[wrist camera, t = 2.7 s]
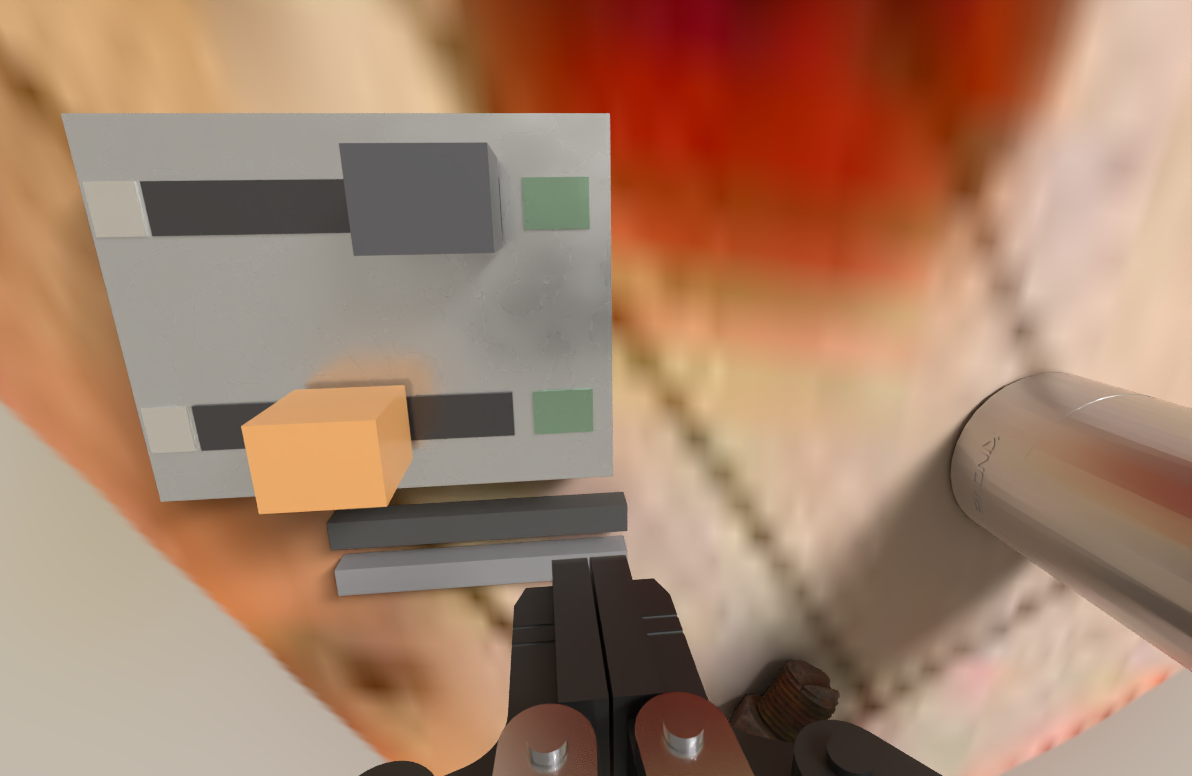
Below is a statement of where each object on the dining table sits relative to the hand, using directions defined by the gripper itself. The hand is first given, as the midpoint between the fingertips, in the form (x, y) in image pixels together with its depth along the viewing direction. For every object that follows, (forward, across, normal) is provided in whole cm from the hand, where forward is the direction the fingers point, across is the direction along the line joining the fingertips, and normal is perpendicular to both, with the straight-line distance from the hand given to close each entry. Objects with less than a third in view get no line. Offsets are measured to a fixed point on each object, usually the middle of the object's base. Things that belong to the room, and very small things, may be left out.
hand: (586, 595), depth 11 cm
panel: (+16, +7, -4) cm, 18 cm away
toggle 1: (+12, +8, 0) cm, 14 cm away
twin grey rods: (+16, +4, +8) cm, 18 cm away
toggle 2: (+11, +4, -8) cm, 14 cm away
